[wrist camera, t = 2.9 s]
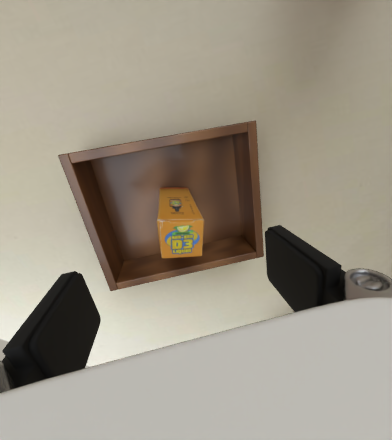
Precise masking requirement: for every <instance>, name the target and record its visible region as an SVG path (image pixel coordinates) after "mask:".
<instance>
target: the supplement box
mask: <svg viewBox="0 0 392 440" xmlns="http://www.w3.org/2000/svg"><path fill="white" fill-rule="evenodd" d="M157 227H158V235H159V244H160V251H161V257H162V258H178V257H196V256H202V246H203V231H204V219H203V217H202V215H201V213H200V211H199V210H198V208H197V206H196V203H195V201H194V199H193V197H192V195H191V193H190V191H189V189H188V188H186V187H167V188H160V189H159V210H158V218H157Z"/></svg>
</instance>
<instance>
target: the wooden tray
mask: <svg viewBox="0 0 392 440" xmlns="http://www.w3.org/2000/svg"><path fill="white" fill-rule="evenodd" d="M58 157H59V159H60V162H61V164H62V167H63V169H64V172H65V175H66V177H67V180H68V182H69V185H70V188H71V190H72V193H73V195H74V198H75V200H76V203H77V206H78V208H79V211H80V213H81V216H82V219H83V221H84V224H85V226H86V229H87V231H88V234H89V237H90V239H91V242H92V244H93V247H94V250H95V252H96V255H97V257H98V260H99V262H100V265H101V268H102V270H103V273H104V275H105V278H106V281H107V283H108V286H109V288H110V291H113V290H118V289H122V288H127V287H131V286H135V285H140V284H144V283H149V282H153V281H157V280H162V279H166V278H171V277H175V276H179V275H184V274H188V273H193V272H197V271H201V270H206V269H210V268H215V267H219V266H223V265H228V264H232V263H237V262H241V261H246V260H250V259H254V258H259V257H263V256H264V253H263V235H262V218H261V201H260V183H259V166H258V149H257V131H256V121H250V122H244V123H239V124H233V125H227V126H221V127H216V128H210V129H204V130H199V131H193V132H187V133H182V134H176V135H170V136H164V137H159V138H153V139H147V140H142V141H136V142H130V143H124V144H119V145H113V146H107V147H102V148H96V149H90V150H85V151H79V152H73V153H68V154H62V155H58ZM167 187H186V188H188V189H189V191H190V193H191V195H192V197H193V199H194V201H195V203H196V206H197V208H198V210H199V211H200V213H201V215H202V217H203V219H204V231H203V246H202V256H196V257H178V258H162V257H161V251H160V244H159V235H158V227H157V218H158V210H159V189H160V188H167Z"/></svg>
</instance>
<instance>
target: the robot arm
mask: <svg viewBox="0 0 392 440" xmlns="http://www.w3.org/2000/svg"><path fill="white" fill-rule="evenodd" d="M265 243H266V262H267V276H268V279H269V281H270V282H271V283H272V284H273V286H274V287H275V288H276V289H277V291H278V292H279V293H280V294H281V296H282V297H283V298H284V299H285V301H286V302H287V303H288V304H289V306H290V307H291V308H292V309H293V310H294V313H290V314H287V315H283V316H279V317H275V318H271V319H268V320H264V321H260V322H256V323H252V324H249V325H245V326H241V327H237V328H234V329H230V330H226V331H222V332H219V333H215V334H211V335H207V336H204V337H200V338H196V339H192V340H189V341H185V342H181V343H177V344H174V345H170V346H166V347H163V348H159V349H155V350H151V351H148V352H144V353H140V354H137V355H133V356H129V357H125V358H122V359H118V360H114V361H111V362H107V363H103V364H100V365H96V366H92V367H89V368H85V366H86V363H87V360H88V357H89V354H90V351H91V348H92V346H93V343H94V340H95V337H96V334H97V331H98V328H99V325H100V315H99V313H98V310H97V308H96V306H95V303H94V301H93V299H92V296H91V294H90V292H89V289H88V287H87V285H86V283H85V280H84V278H83V276H82V274H80V273H79V274H78V273H77V272H76V271H74V272H70V273H65V274H62V275H61V276H60V277H59V278H58V280H57V281H56V282H55V283H54V285H53V286H52V287H51V289H50V290H49V291H48V292H47V294H46V295H45V296H44V298H43V299H42V300H41V302H40V303H39V304H38V305H37V307H36V308H35V309H34V311H33V312H32V313H31V314H30V316H29V317H28V318H27V320H26V321H25V322H24V323H23V325H22V326H21V327H20V329H19V330H18V331H17V332H16V334H15V335H14V336H13V338H12V339H11V340H10V342H9V343H8V344H7V345H6V347H5V348H4V349H3V353H4V354H5V358H4V359H3V360H2V361H0V440H392V279H391V278H390V277H388V276H386V275H384V274H383V273H380V272H377V271H374V270H370V269H361V268H358V269H351V270H348V271H347V272H345V271H343V270H342V269H341V265H340V264H338V263H337V262H335V261H334V260H332V259H331V258H329V257H328V256H326V255H325V254H323V253H322V252H320V251H319V250H317V249H315V248H314V247H312V246H311V245H309V244H308V243H306V242H305V241H303V240H302V239H300V238H299V237H297V236H296V235H294V234H293V233H291V232H290V231H288V230H287V229H285V228H284V227H282V226H280V225H278V226H274V227H269V228H268V231H266V232H265Z"/></svg>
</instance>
